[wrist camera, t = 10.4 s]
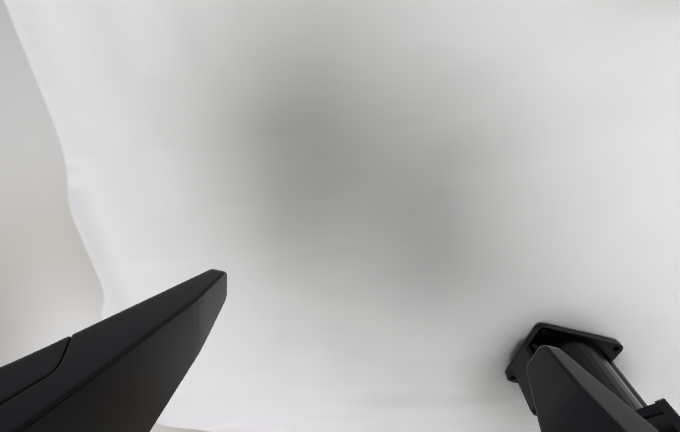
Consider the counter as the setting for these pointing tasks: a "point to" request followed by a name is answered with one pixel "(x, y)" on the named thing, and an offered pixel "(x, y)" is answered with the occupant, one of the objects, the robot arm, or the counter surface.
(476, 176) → the counter surface
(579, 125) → the counter surface
